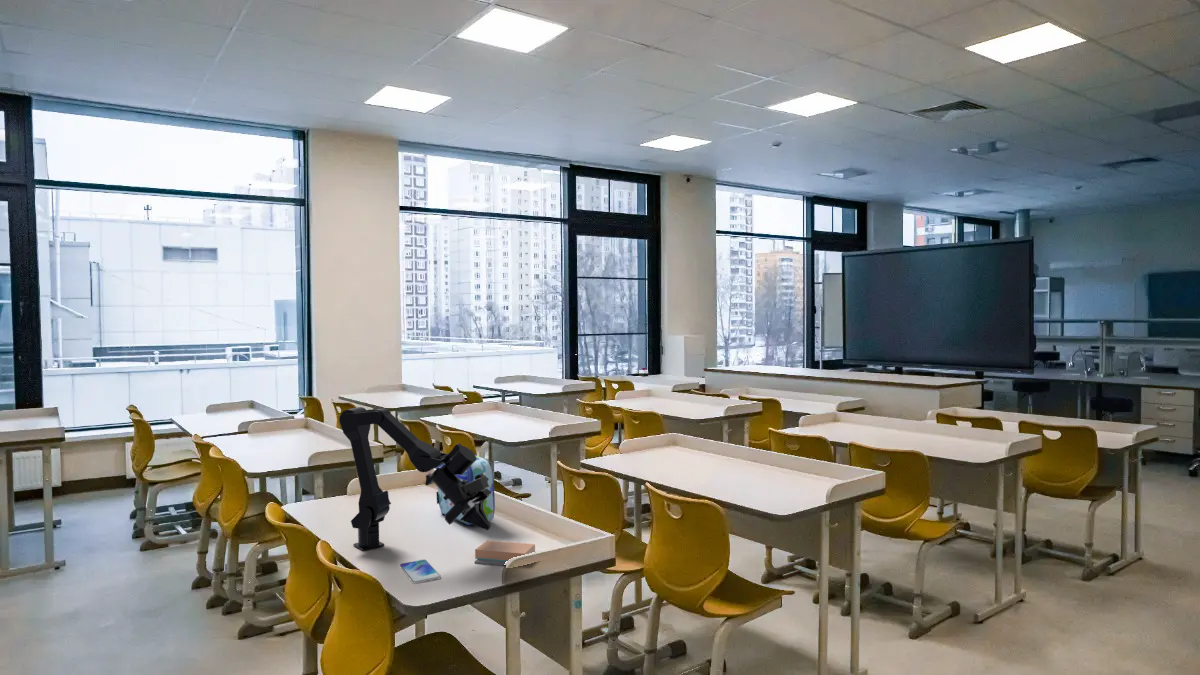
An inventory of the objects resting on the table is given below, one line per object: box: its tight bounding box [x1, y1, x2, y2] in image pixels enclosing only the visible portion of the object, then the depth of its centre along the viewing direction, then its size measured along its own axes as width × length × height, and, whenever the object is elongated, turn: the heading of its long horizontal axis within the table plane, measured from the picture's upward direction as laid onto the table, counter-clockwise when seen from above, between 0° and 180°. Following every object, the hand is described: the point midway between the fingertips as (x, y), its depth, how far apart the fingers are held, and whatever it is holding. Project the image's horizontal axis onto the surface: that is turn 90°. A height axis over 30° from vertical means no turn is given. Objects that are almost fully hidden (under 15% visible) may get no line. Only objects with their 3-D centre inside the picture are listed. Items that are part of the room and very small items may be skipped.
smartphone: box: [398, 559, 442, 584], centre depth 189 cm, size 7×1×15 cm
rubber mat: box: [474, 559, 506, 567], centre depth 199 cm, size 10×12×1 cm
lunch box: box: [435, 454, 496, 526], centre depth 237 cm, size 26×11×21 cm, turn 35°
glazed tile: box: [474, 540, 536, 561], centre depth 199 cm, size 2×8×14 cm
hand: (489, 528), depth 200 cm, fingers closed
